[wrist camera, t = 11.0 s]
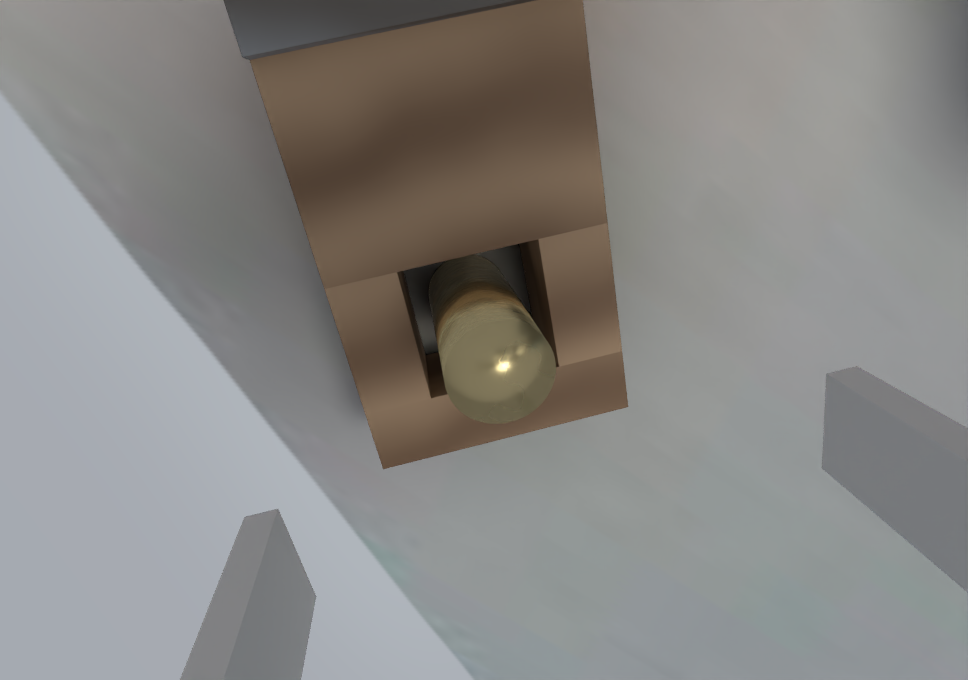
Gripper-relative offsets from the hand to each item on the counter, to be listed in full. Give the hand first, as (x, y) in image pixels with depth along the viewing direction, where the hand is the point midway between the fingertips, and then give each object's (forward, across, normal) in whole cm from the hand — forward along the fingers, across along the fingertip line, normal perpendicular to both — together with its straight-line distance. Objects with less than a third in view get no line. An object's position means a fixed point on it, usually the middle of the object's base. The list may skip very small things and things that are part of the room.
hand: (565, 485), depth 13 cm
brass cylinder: (+17, -1, 0) cm, 17 cm away
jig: (+17, -1, +4) cm, 17 cm away
